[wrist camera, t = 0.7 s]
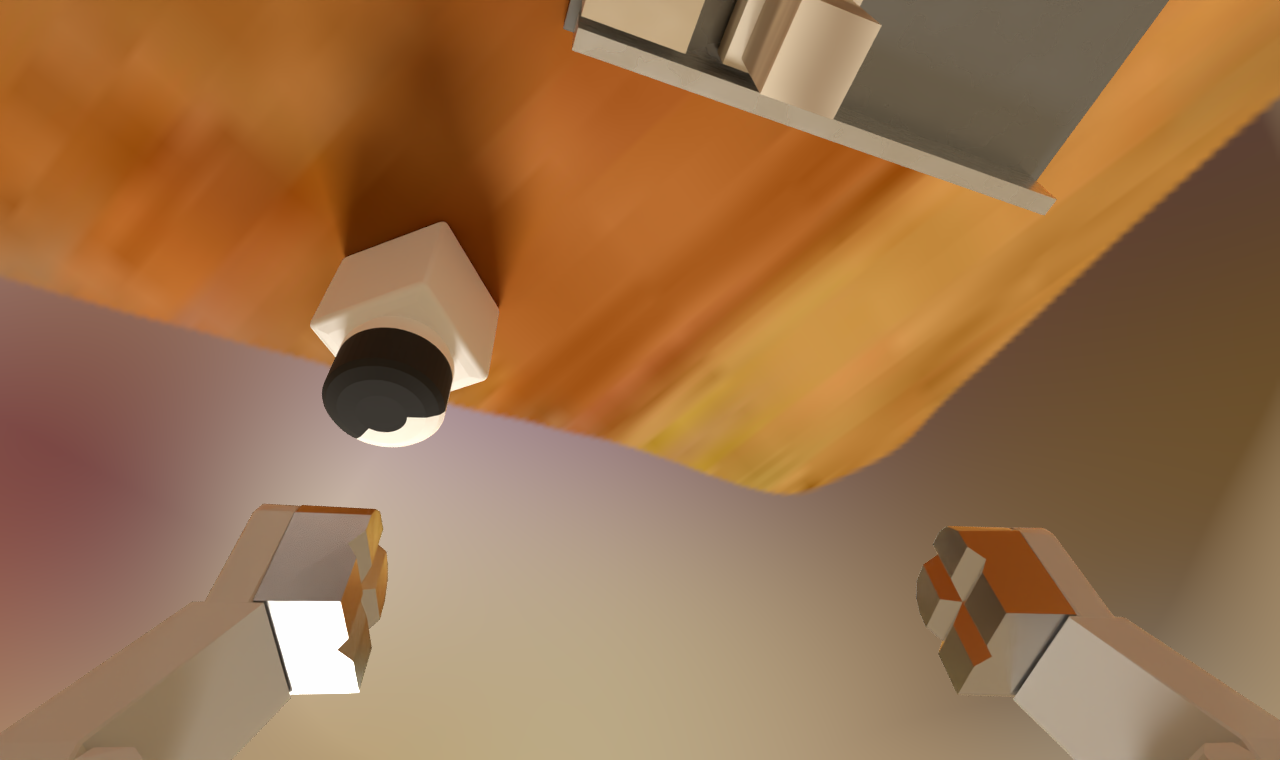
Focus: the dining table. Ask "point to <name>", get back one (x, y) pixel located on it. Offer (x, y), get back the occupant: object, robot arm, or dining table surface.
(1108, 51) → the divider plate
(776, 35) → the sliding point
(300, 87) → the dining table surface
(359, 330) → the medicine bottle
